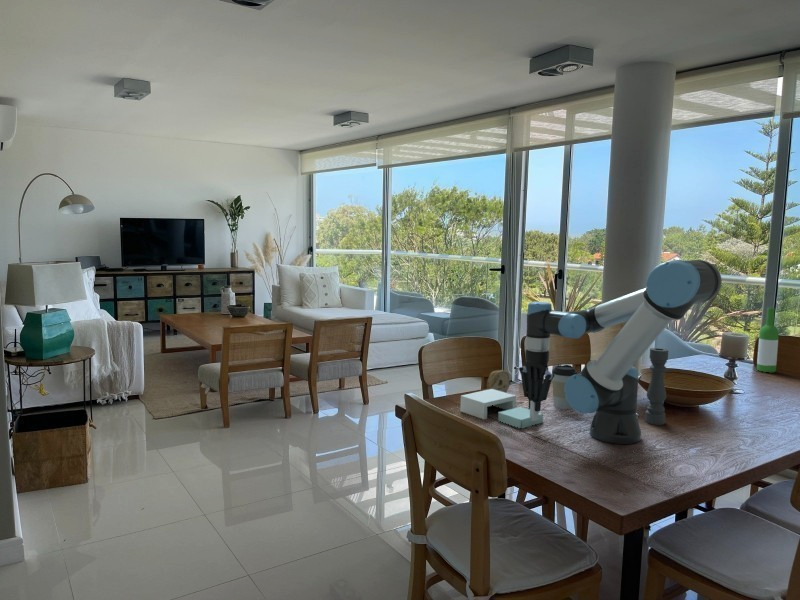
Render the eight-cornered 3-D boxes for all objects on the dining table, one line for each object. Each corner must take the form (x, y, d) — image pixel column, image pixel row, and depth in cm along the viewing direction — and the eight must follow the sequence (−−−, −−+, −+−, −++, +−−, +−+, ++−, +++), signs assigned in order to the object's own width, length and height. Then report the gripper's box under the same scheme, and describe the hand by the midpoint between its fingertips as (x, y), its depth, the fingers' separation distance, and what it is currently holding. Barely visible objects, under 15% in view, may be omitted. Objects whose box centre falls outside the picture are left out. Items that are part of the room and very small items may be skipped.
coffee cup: (570, 411, 214) (572, 370, 212) (546, 406, 219) (548, 366, 218) (579, 405, 221) (581, 366, 219) (556, 401, 227) (558, 362, 225)
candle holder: (642, 422, 203) (646, 349, 200) (649, 418, 207) (653, 347, 205) (660, 426, 199) (665, 352, 196) (667, 421, 203) (672, 349, 200)
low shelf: (515, 411, 214) (515, 395, 213) (483, 419, 204) (484, 403, 203) (491, 403, 223) (491, 388, 222) (460, 411, 213) (460, 395, 212)
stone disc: (503, 392, 239) (504, 367, 238) (510, 394, 236) (511, 369, 235) (484, 395, 233) (485, 370, 232) (491, 398, 230) (492, 372, 229)
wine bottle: (778, 373, 277) (784, 309, 274) (760, 372, 278) (765, 308, 275) (771, 369, 284) (776, 307, 281) (753, 369, 286) (758, 306, 282)
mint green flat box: (542, 422, 201) (542, 413, 201) (520, 428, 194) (521, 419, 194) (519, 415, 209) (519, 406, 209) (498, 421, 202) (498, 412, 202)
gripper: (561, 351, 191) (557, 423, 194) (529, 344, 201) (525, 412, 204) (546, 354, 187) (542, 427, 190) (514, 347, 197) (511, 416, 200)
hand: (533, 419), depth 197 cm, fingers closed
